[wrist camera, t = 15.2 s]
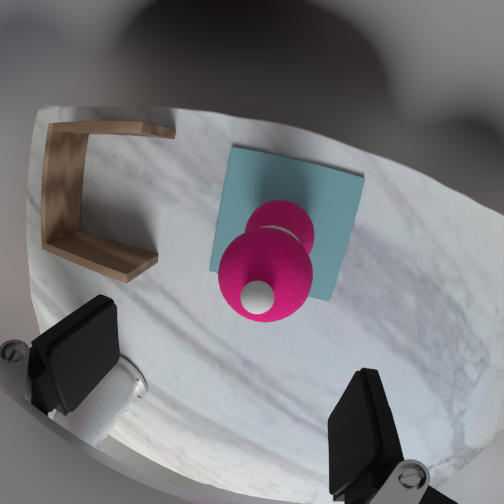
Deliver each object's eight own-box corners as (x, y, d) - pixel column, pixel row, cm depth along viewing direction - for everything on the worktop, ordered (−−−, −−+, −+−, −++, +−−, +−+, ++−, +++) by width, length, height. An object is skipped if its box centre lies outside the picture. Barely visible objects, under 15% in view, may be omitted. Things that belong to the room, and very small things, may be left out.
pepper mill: (240, 221, 33) (161, 286, 14) (288, 184, 31) (267, 201, 12) (276, 267, 34) (245, 378, 15) (324, 233, 32) (354, 319, 13)
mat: (328, 299, 34) (328, 301, 34) (210, 269, 36) (209, 270, 36) (364, 178, 29) (365, 178, 29) (233, 147, 31) (232, 146, 31)
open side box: (157, 262, 37) (126, 283, 30) (75, 236, 39) (42, 248, 32) (175, 130, 32) (143, 121, 24) (85, 126, 33) (49, 123, 26)
